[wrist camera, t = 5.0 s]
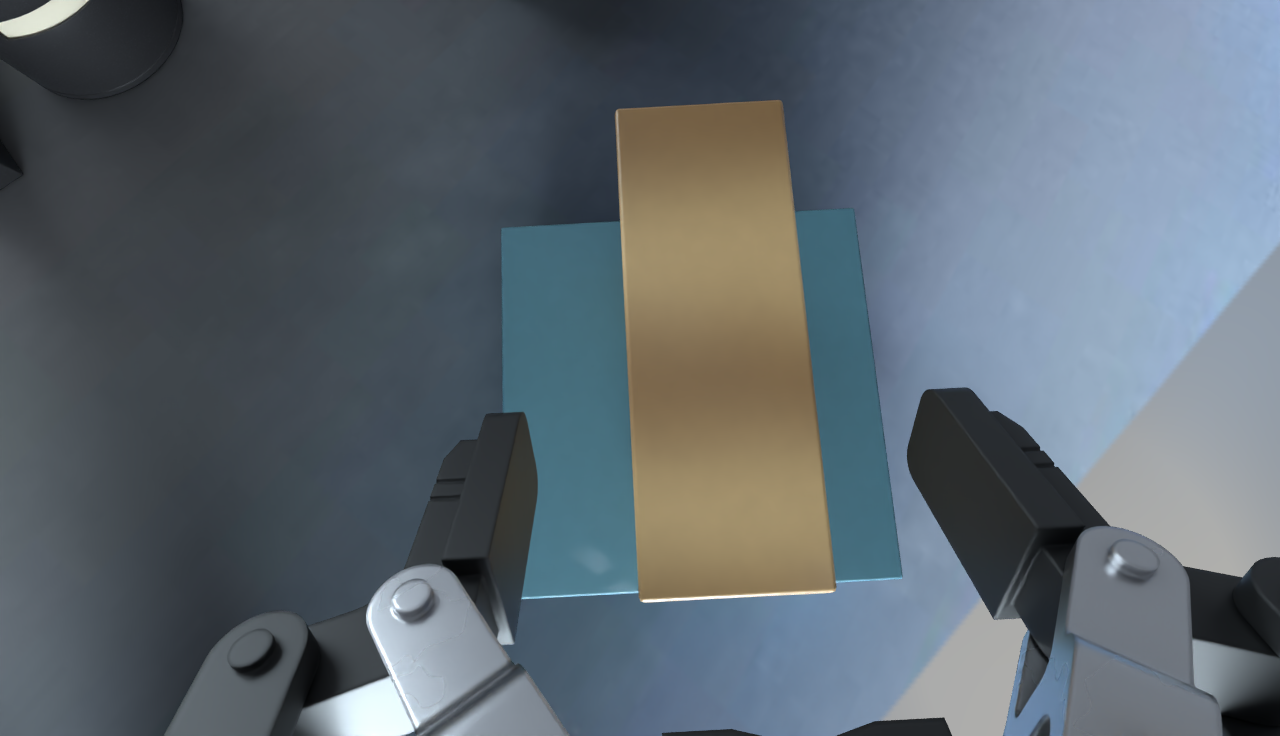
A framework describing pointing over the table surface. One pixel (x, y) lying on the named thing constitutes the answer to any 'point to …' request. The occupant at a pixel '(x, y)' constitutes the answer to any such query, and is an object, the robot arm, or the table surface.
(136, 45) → the light fixture
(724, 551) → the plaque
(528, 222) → the table surface
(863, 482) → the toy box
